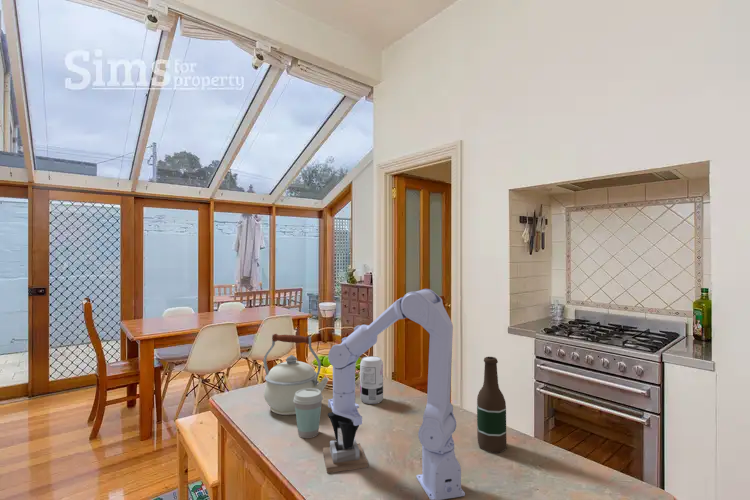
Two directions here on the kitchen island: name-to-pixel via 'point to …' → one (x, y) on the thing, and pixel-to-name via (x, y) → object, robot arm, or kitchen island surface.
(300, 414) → the coffee cup
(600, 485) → the kitchen island surface
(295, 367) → the kettle
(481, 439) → the beer bottle
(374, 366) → the supplement can
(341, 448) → the shaft
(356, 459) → the block
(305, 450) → the kitchen island surface
